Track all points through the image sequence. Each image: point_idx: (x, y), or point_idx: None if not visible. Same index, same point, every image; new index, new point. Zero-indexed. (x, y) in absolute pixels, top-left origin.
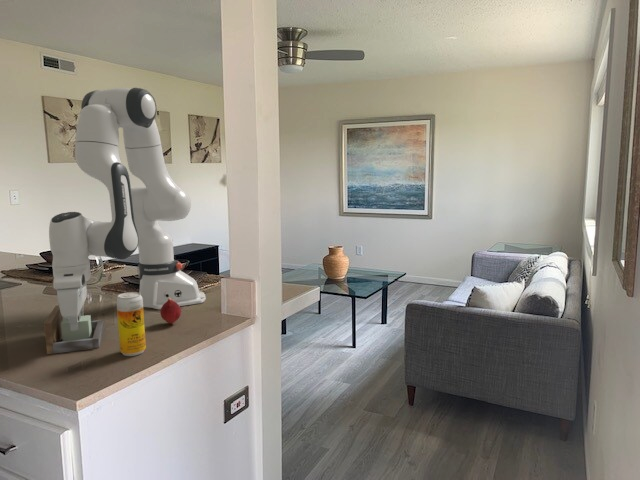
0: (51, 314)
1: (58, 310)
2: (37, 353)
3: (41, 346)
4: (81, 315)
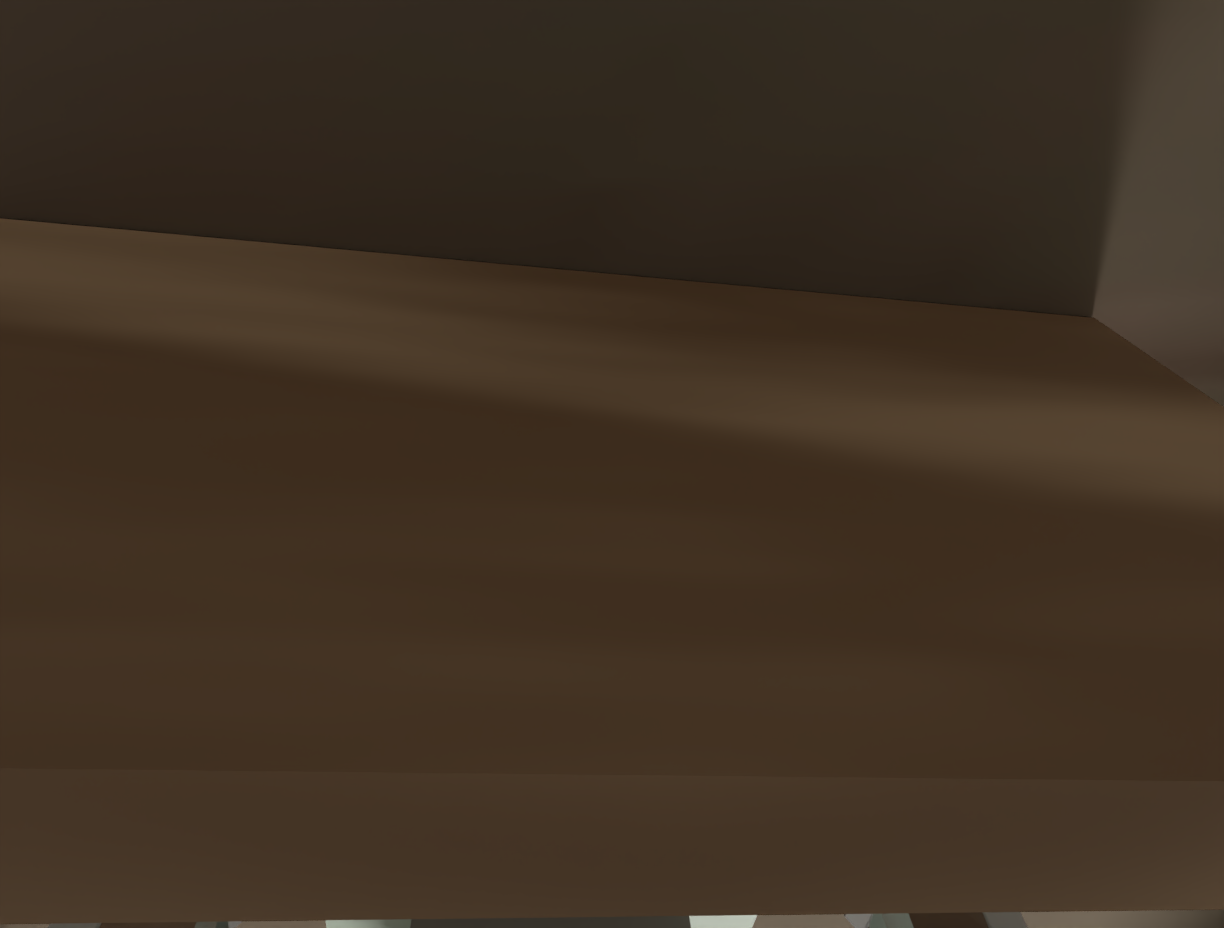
0: (530, 815)
1: (999, 905)
2: (10, 7)
3: (455, 59)
4: (864, 925)
